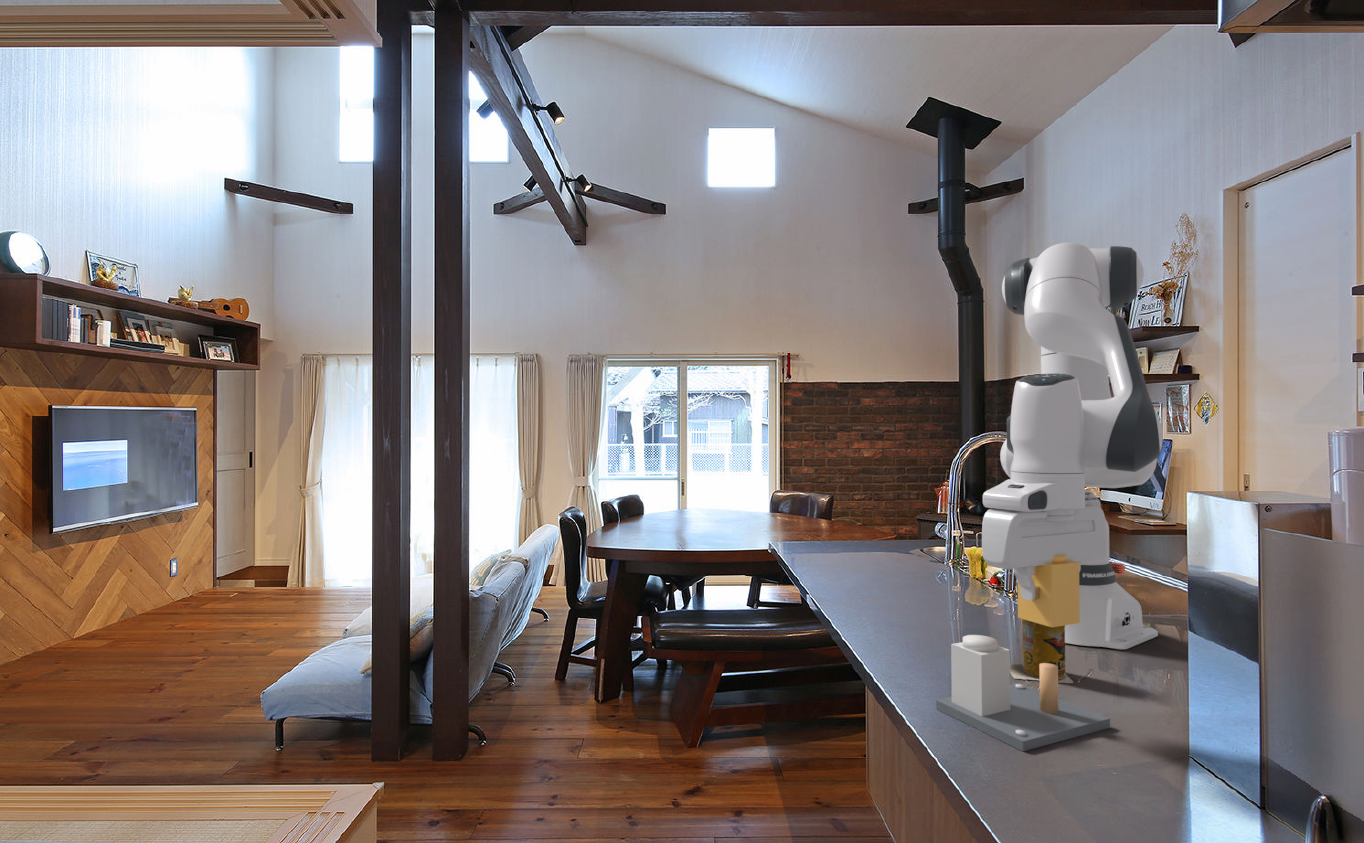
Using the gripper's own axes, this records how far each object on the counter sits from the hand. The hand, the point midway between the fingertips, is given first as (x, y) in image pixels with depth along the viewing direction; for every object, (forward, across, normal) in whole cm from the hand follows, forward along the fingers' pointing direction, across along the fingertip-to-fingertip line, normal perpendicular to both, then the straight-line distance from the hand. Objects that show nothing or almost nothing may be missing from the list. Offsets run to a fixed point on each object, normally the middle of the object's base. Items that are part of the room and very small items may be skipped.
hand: (1047, 597), depth 93 cm
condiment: (+17, -14, -13) cm, 25 cm away
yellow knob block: (+3, 0, 0) cm, 3 cm away
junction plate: (+16, +3, -2) cm, 17 cm away
